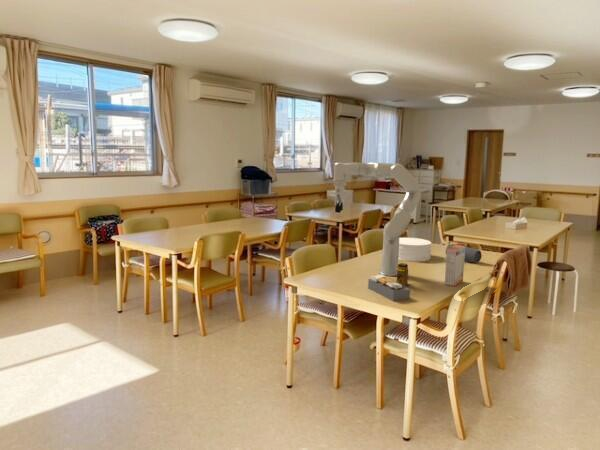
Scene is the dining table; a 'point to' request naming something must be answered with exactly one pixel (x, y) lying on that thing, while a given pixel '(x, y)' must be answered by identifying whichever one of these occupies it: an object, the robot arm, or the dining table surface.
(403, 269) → the condiment
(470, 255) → the bluetooth speaker
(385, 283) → the outlet rocker
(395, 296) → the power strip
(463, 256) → the cracker box
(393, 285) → the rocker outlet
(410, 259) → the plate stack
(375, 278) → the outlet rocker
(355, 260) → the dining table surface
